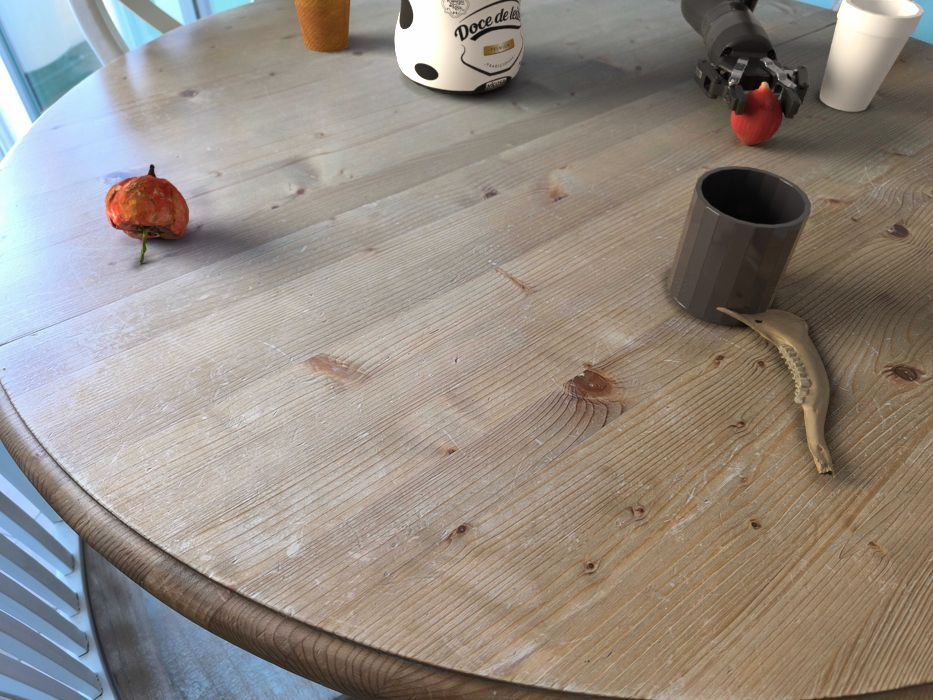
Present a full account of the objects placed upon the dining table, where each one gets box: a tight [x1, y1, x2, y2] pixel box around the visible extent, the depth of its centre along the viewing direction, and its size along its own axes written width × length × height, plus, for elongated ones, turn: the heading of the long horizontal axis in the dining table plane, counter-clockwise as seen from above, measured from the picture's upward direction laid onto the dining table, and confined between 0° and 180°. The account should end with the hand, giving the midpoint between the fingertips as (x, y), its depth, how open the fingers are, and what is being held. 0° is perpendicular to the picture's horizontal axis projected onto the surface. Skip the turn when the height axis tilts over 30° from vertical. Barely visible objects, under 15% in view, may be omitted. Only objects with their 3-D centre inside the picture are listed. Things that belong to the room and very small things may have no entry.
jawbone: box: [716, 308, 835, 480], centre depth 63 cm, size 9×20×2 cm, turn 15°
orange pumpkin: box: [104, 163, 190, 266], centre depth 72 cm, size 7×7×10 cm
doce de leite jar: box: [394, 0, 525, 95], centre depth 98 cm, size 17×17×18 cm
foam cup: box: [818, 0, 925, 113], centre depth 98 cm, size 10×9×13 cm
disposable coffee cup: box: [294, 0, 351, 53], centre depth 106 cm, size 10×10×12 cm
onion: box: [730, 82, 784, 147], centre depth 90 cm, size 6×6×8 cm
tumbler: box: [667, 165, 812, 327], centre depth 68 cm, size 10×10×11 cm
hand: (767, 109), depth 87 cm, fingers closed on onion, 5 cm apart
